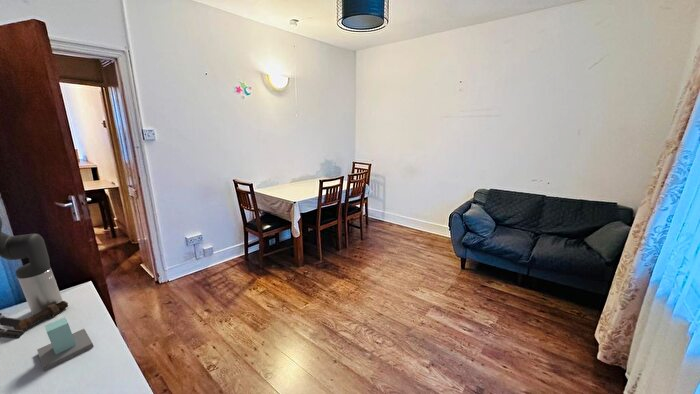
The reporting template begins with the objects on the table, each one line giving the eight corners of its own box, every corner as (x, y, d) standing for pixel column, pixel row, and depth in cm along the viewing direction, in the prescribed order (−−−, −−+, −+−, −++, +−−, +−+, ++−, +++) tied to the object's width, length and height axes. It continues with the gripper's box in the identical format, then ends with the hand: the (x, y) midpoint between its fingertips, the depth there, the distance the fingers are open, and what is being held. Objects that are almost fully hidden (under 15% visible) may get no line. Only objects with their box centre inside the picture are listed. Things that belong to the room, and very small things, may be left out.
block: (53, 347, 96) (44, 325, 93) (73, 338, 99) (65, 317, 97) (55, 354, 93) (46, 332, 90) (76, 345, 96) (68, 323, 94)
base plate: (38, 353, 95) (34, 342, 94) (85, 331, 105) (81, 321, 103) (44, 371, 88) (39, 359, 87) (93, 346, 98) (89, 335, 96)
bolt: (69, 311, 119) (21, 336, 105) (61, 304, 120) (11, 328, 106) (71, 302, 117) (22, 326, 103) (62, 295, 118) (12, 318, 104)
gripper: (-48, 315, 72) (32, 326, 84) (-47, 295, 81) (26, 308, 92) (-75, 345, 70) (12, 352, 82) (-71, 322, 78) (8, 331, 90)
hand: (19, 328), depth 87 cm, fingers open, 8 cm apart
